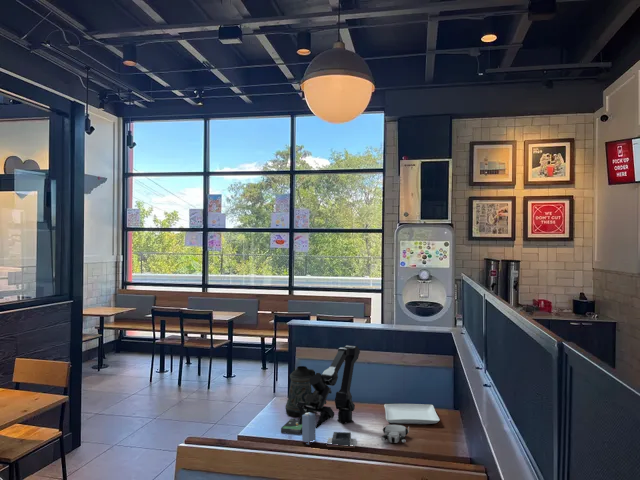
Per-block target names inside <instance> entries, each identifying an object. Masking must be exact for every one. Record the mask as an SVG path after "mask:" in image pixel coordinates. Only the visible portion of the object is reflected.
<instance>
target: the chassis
mask: <svg viewBox="0 0 640 480" xmlns="http://www.w3.org/2000/svg"><path fill="white" fill-rule="evenodd" d="M327 443H332V444H338V445H348V446H350V445H353V446H357V438H352V432H347V431H346V432H345V431H344V432H343V431H342V432H341V431H333V434H332V437H328V439H327ZM327 443H326V444H327Z"/></svg>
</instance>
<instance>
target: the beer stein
mask: <svg viewBox="0 0 640 480" xmlns="http://www.w3.org/2000/svg"><path fill="white" fill-rule="evenodd" d="M313 375H316V372H315V370H314V369H311V368H310V369H309V368H308V367H307V366H305V365H301V366H300V365H299V366H296V369H295V370H293V371H292V372H291V373H290V374H289V379H290V384H289V391H288V397H287V401H286V404H285V405H284V407H285V413H286V415H287V416H290V417H293V418H294V417H296V418H300V410H299V409H298V407H297V406H296V405H297V403H298V402H299V401H301V402H305V403H306V404H307V405H308V406H311V405H309V402H308V401H305V400H306V396H307V394H309V395H314V394H316V392H317V391H316V390H315V389H314V390H312V385H311V384H310V378H311V377H312V376H313ZM308 412H310V413H315V411H310V410H309V411H308ZM308 412H307V413H308Z"/></svg>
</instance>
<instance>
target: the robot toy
mask: <svg viewBox="0 0 640 480" xmlns="http://www.w3.org/2000/svg"><path fill="white" fill-rule="evenodd" d="M409 430H410V426H408V427H407V428H406V426H404V425H402V424H387V425H383V428H382V432H383V435H382V436H381V438H380V440H381V441H387V440H388V442H389V443H394V444H397V443H399V442H401V443H406V438H405V437H406V436H407V435H408V434H409V432H410V431H409Z"/></svg>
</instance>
